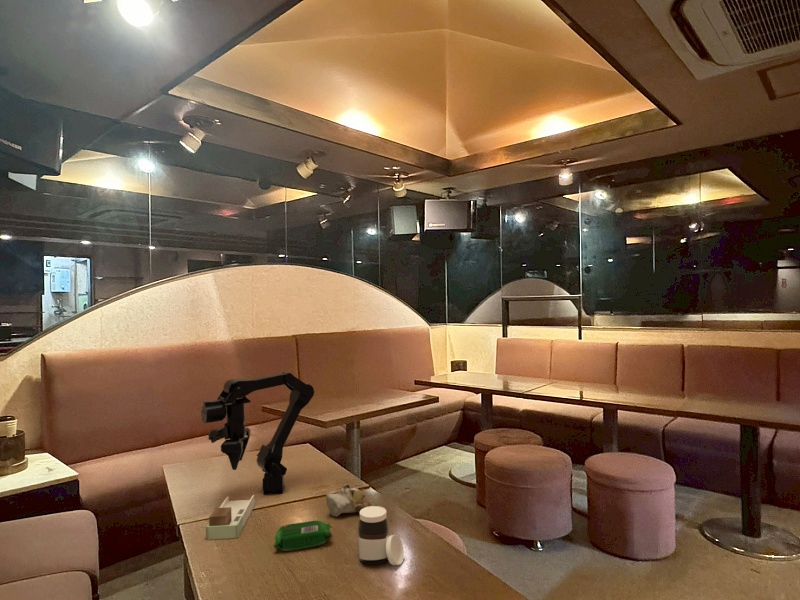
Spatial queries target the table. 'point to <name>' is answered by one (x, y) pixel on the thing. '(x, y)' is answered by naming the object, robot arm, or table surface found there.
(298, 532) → the snack package
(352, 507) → the ceramic sculpture
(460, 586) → the table surface
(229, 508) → the walnut block
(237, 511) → the tray
